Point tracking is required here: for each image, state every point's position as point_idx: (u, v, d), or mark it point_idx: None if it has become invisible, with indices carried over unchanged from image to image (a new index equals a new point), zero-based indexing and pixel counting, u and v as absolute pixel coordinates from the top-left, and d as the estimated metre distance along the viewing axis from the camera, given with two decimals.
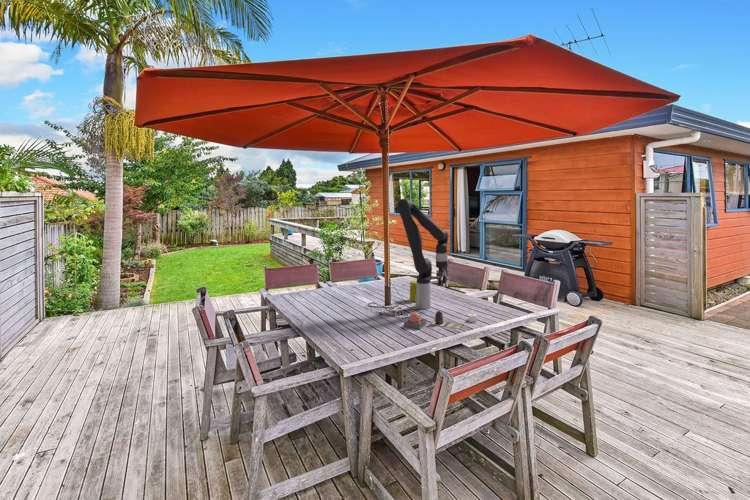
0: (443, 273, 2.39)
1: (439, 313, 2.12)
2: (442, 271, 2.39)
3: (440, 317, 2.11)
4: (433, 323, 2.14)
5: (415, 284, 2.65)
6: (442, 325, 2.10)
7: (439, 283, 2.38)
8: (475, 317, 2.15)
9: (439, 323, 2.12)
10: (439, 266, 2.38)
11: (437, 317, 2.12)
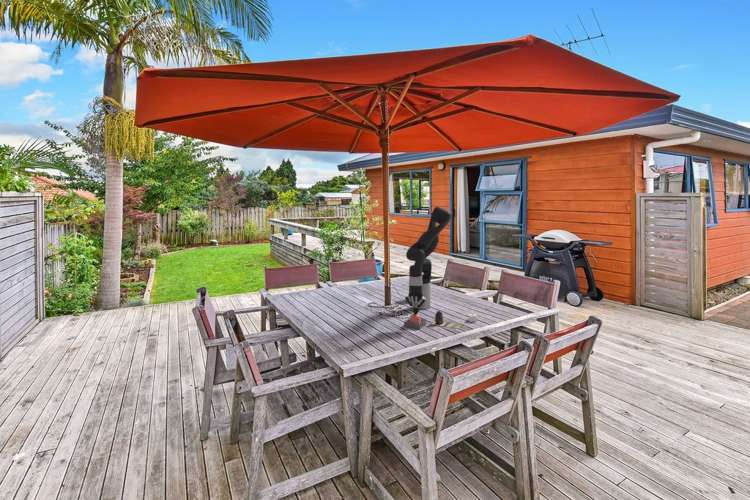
0: None
1: (439, 313, 2.12)
2: None
3: (440, 317, 2.11)
4: (433, 323, 2.14)
5: None
6: (442, 325, 2.10)
7: (417, 311, 2.09)
8: (475, 317, 2.15)
9: (439, 323, 2.12)
10: (421, 291, 2.06)
11: (437, 317, 2.12)
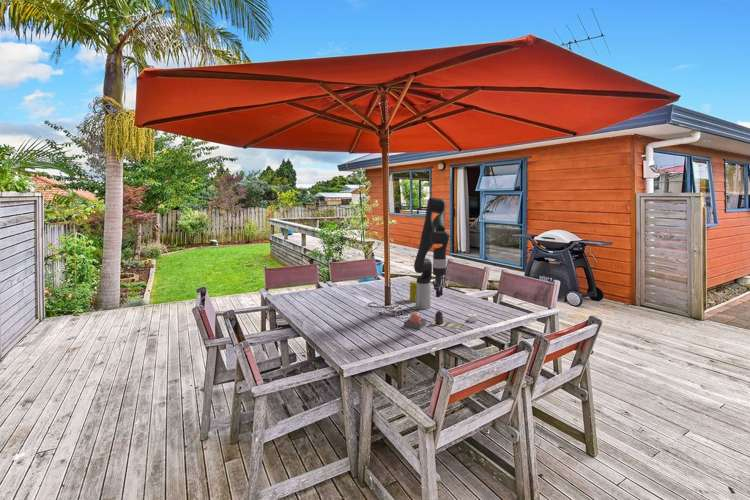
0: None
1: (439, 313, 2.12)
2: None
3: (440, 317, 2.11)
4: (433, 323, 2.14)
5: (415, 284, 2.65)
6: (442, 325, 2.10)
7: None
8: (475, 317, 2.15)
9: (439, 323, 2.12)
10: None
11: (437, 317, 2.12)
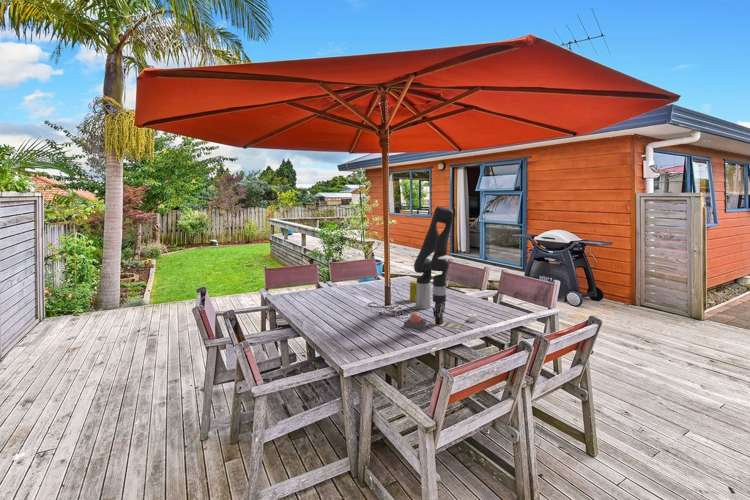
0: None
1: None
2: None
3: (440, 317, 2.11)
4: (433, 323, 2.14)
5: (415, 284, 2.65)
6: (442, 325, 2.10)
7: None
8: (475, 317, 2.15)
9: (439, 323, 2.12)
10: None
11: None
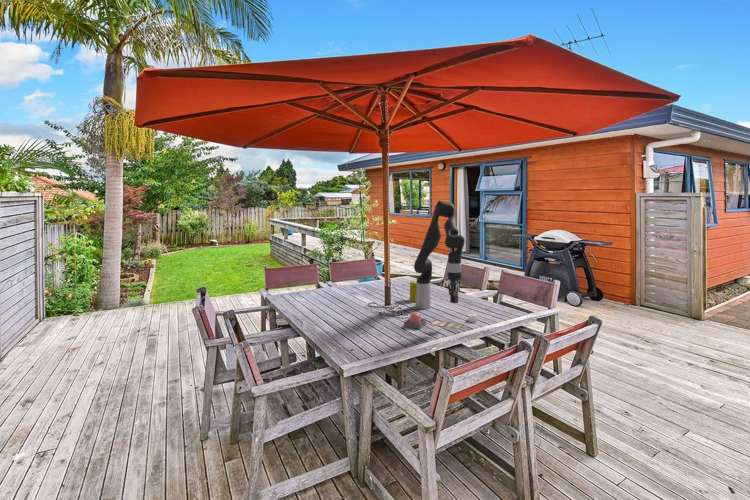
0: None
1: None
2: None
3: (455, 295, 2.05)
4: (433, 323, 2.14)
5: (415, 284, 2.65)
6: (442, 325, 2.10)
7: None
8: (475, 317, 2.15)
9: (454, 302, 2.05)
10: None
11: None
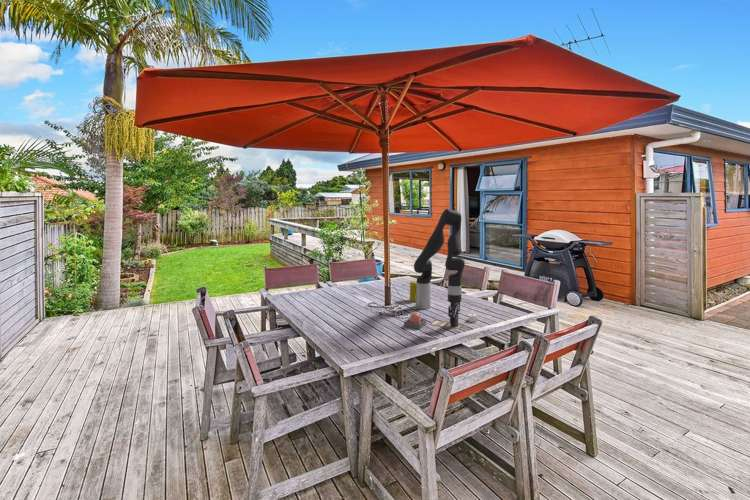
0: None
1: None
2: None
3: (455, 319, 2.07)
4: (433, 323, 2.14)
5: (415, 284, 2.65)
6: (442, 325, 2.10)
7: None
8: (475, 317, 2.15)
9: (454, 326, 2.07)
10: None
11: None
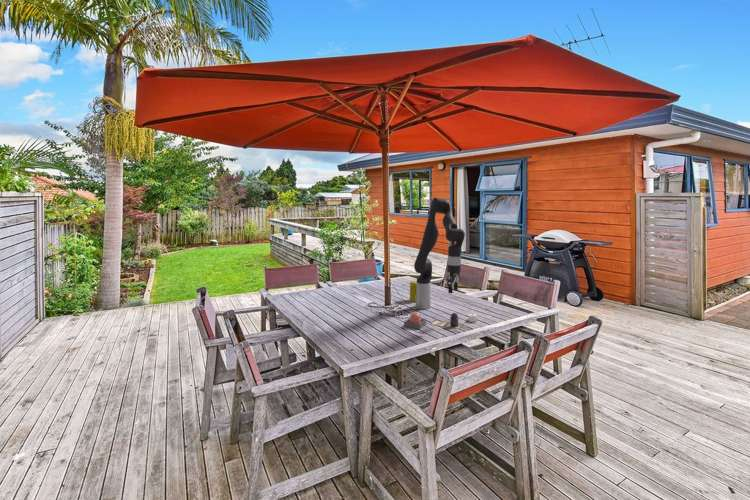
0: None
1: (454, 315, 2.07)
2: None
3: (455, 319, 2.07)
4: (433, 323, 2.14)
5: (415, 284, 2.65)
6: (442, 325, 2.10)
7: None
8: (475, 317, 2.15)
9: (454, 326, 2.07)
10: None
11: (452, 319, 2.07)
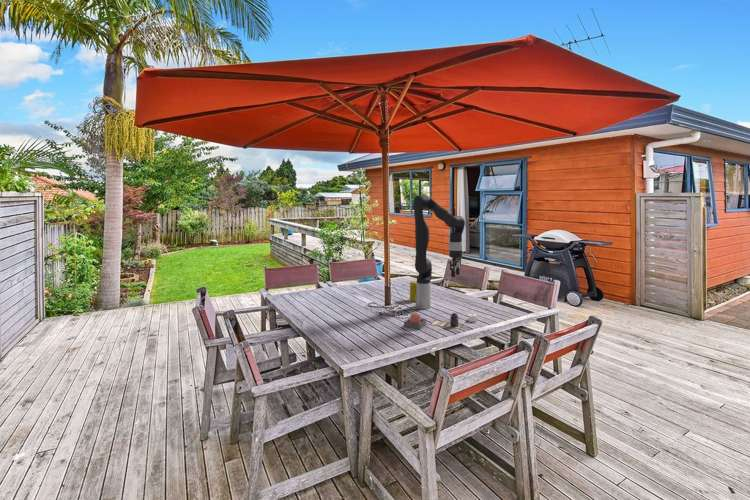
0: None
1: (454, 315, 2.07)
2: None
3: (455, 319, 2.07)
4: (433, 323, 2.14)
5: (415, 284, 2.65)
6: (442, 325, 2.10)
7: None
8: (475, 317, 2.15)
9: (454, 326, 2.07)
10: None
11: (452, 319, 2.07)
